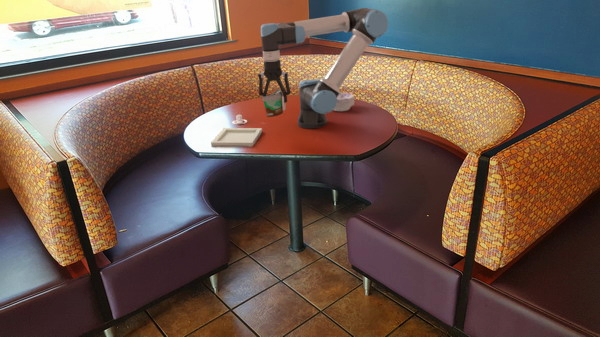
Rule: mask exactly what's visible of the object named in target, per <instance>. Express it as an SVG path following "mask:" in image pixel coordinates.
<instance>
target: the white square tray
mask: <svg viewBox="0 0 600 337" xmlns="http://www.w3.org/2000/svg"><path fill="white" fill-rule="evenodd" d="M262 133H263V128H262V127H257V128H256V127H255V128H254V127H244V128H243V127H240V128H238V127H232V128H231V127H229V128H228V127H226V128H225V127H223V128H222V130H221V131H220V132H219V133H218V134H217V135H216V136H215V138H214V139H213V140H212V141H211V142H210V144H211V145H210V146H211V147H222V148H223V147H226V148H227V147H231V148H233V147H239V148H241V147H242V148H243V147H250V148H253V147H254V145H255V144H256V143H257V141H258V139H259V138H260V137H261V135H262Z"/></svg>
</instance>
